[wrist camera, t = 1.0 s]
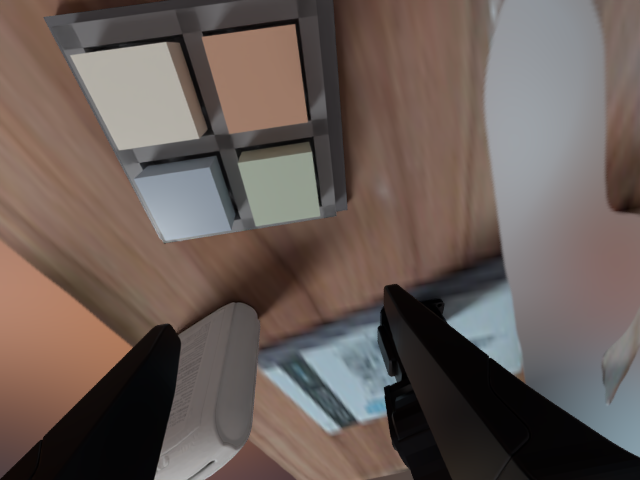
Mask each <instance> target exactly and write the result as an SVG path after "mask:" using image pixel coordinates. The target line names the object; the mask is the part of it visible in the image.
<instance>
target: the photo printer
mask: <svg viewBox="0 0 640 480" xmlns="http://www.w3.org/2000/svg"><path fill="white" fill-rule="evenodd" d="M259 335H260V321H259V320H258V316H257V313H256V311H255V310H254V309H253V308H252V307H250V306H249V305H247V304H244V303H240V302H238V303H235V302H232V303H230V304H227V305H225V306H223V307H221V308H220V309H218V310H217V311H215V312H213V313H211V314H210V315H208V316H207V317H205V318H204V319H202V320H200V321H199V322H197V323H196V324H194V325H193V326H191V327H190V328H188V329H187V330H185V331H183V332H182V333H181V334H179V335H178V336H179V338H180V340H181V351H180V359H179V367H178V374H177V382H176V389H175V395H174V399H173V404H172V408H171V412H170V416H169V420H168V424H167V429H166V433H165V437H164V441H163V445H162V449H161V453H160V458H159V462H158V466H157V470H156V474H155V478H154V480H204V479H206V478H208V477H209V476H211V475H212V474H214V473H215V472H216V471H218V470H219V469H220V468H221V467H223V466H224V465H225V464H226V463H227V462H228V461H230V460H231V459H232V458H233V457H234V456H235V455H236V454H237V453H238V452H239V450H240V449H241V448H242V447H243V446H244V444H245V443H246V442H247V440H248V438H249V435H250V432H251V428H252V419H253V408H254V397H255V385H256V373H257V361H258V349H259Z"/></svg>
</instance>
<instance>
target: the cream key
mask: <svg viewBox="0 0 640 480" xmlns="http://www.w3.org/2000/svg"><path fill="white" fill-rule="evenodd" d="M70 56H71V58H72V60H73V62H74V64H75V66H76V68H77V70H78V72H79V74H80V76H81V78H82V80H83V82H84V84H85V86H86V88H87V89H88V91H89V93H90V95H91V97H92V99H93V101H94V103H95V105H96V107H97V109H98V111H99V113H100V115H101V117H102V119H103V121H104V122H105V124H106V126H107V128H108V130H109V132H110V134H111V136H112V138H113V140H114V142H115V144H116V146H117V148H118V150H126V149H132V148H139V147H146V146H153V145H159V144H166V143H173V142H180V141H186V140H193V139H199V138H200V137H201V136H202V135H203V134H204V133H205V132H206V131H207V130H208V128H207V125H206V122H205V119H204V116H203V113H202V110H201V107H200V104H199V100H198V97H197V94H196V91H195V88H194V85H193V82H192V79H191V76H190V73H189V70H188V67H187V64H186V60H185V57H184V54H183V51H182V48H181V45H180V43H176V42H162V43H155V44H148V45H141V46H133V47H126V48H119V49H112V50H104V51H97V52H90V53H83V54H76V55H70Z"/></svg>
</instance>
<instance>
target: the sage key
mask: <svg viewBox="0 0 640 480" xmlns="http://www.w3.org/2000/svg"><path fill="white" fill-rule="evenodd" d="M238 166H239V170H240V173H241V177H242V180H243V184H244V187H245V191H246V194H247V198H248V201H249V205H250V208H251V212H252V215H253V219H254V222H255V226H262V225H269V224H275V223H281V222H288V221H294V220H300V219H306V218H313V217H319V216H320V209H319V202H318V194H317V187H316V179H315V172H314V164H313V156H312V151H311V147H310V144H309V142H303V143H297V144H290V145H284V146H277V147H270V148H264V149H257V150H250V151H244V152H242V153H241V155H240V158H239V161H238Z"/></svg>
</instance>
